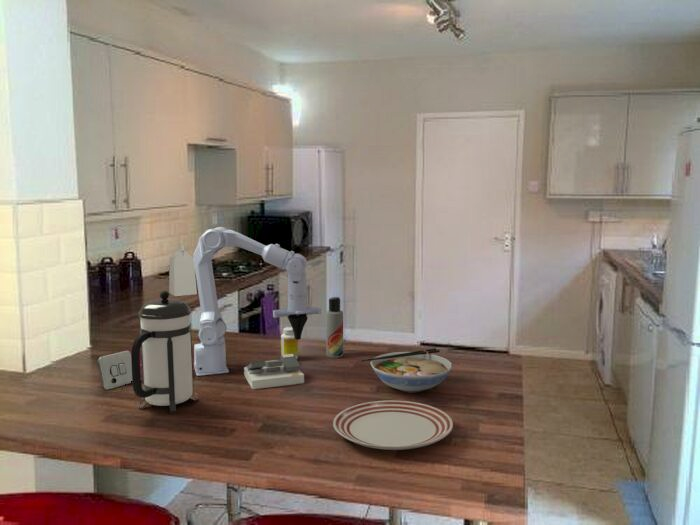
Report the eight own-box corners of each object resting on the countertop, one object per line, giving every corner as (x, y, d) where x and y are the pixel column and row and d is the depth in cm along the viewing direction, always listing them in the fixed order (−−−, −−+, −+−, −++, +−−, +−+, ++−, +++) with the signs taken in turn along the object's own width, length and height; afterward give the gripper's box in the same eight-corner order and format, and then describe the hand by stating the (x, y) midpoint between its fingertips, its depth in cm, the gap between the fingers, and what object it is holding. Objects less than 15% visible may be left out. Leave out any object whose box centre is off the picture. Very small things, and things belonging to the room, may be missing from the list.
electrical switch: (105, 391, 160) (102, 358, 159) (96, 388, 163) (93, 356, 163) (136, 382, 167) (133, 350, 167) (127, 380, 170) (124, 349, 170)
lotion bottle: (341, 358, 190) (341, 299, 187) (324, 357, 191) (324, 298, 188) (344, 354, 195) (344, 296, 193) (328, 353, 196) (328, 295, 194)
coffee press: (134, 398, 154) (128, 288, 150) (195, 391, 160) (191, 284, 156) (134, 423, 138) (128, 300, 134) (202, 413, 144) (198, 295, 140)
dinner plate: (308, 432, 133) (308, 419, 133) (388, 402, 152) (388, 390, 152) (398, 475, 114) (398, 459, 113) (476, 433, 133) (477, 420, 132)
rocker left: (251, 367, 164) (251, 361, 164) (247, 370, 170) (247, 364, 171) (265, 365, 165) (264, 360, 166) (261, 368, 172) (260, 363, 172)
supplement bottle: (301, 359, 189) (301, 328, 188) (287, 362, 186) (286, 331, 185) (292, 355, 194) (291, 325, 192) (278, 358, 190) (277, 328, 189)
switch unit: (252, 389, 161) (252, 377, 161) (244, 375, 173) (244, 363, 173) (304, 383, 166) (304, 371, 166) (292, 369, 178) (292, 358, 178)
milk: (196, 294, 304) (195, 245, 301) (174, 296, 298) (172, 246, 295) (190, 290, 314) (189, 243, 311) (169, 292, 308) (167, 244, 305)
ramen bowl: (388, 409, 147) (388, 378, 146) (354, 381, 168) (354, 354, 167) (471, 396, 156) (472, 366, 155) (429, 371, 177) (429, 345, 176)
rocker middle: (269, 367, 165) (268, 361, 166) (264, 366, 172) (263, 361, 172) (282, 365, 167) (282, 360, 167) (277, 365, 173) (277, 359, 174)
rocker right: (286, 371, 167) (286, 366, 167) (280, 359, 173) (280, 354, 173) (299, 370, 169) (299, 365, 168) (293, 357, 175) (293, 353, 174)
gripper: (276, 298, 167) (277, 344, 169) (324, 295, 172) (324, 339, 174) (271, 294, 174) (271, 338, 175) (317, 291, 179) (317, 334, 180)
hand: (297, 338), depth 175 cm, fingers closed
